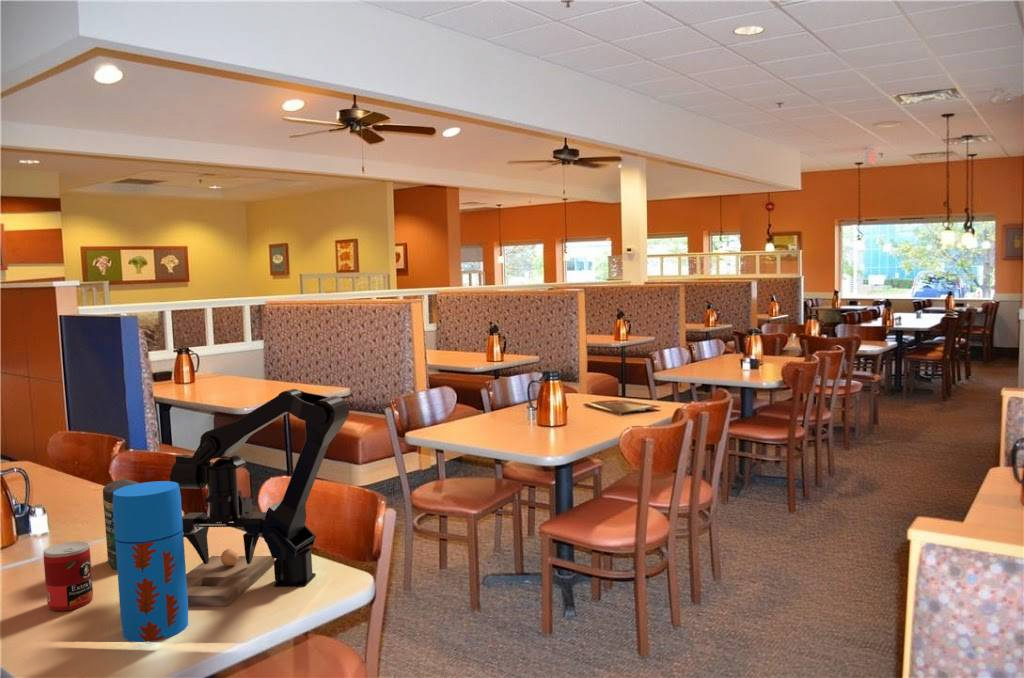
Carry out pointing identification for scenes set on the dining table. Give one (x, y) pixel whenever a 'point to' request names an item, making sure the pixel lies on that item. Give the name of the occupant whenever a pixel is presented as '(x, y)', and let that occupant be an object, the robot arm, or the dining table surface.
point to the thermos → (150, 560)
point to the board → (224, 580)
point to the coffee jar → (109, 518)
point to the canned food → (68, 575)
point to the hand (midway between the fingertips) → (227, 563)
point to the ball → (229, 557)
